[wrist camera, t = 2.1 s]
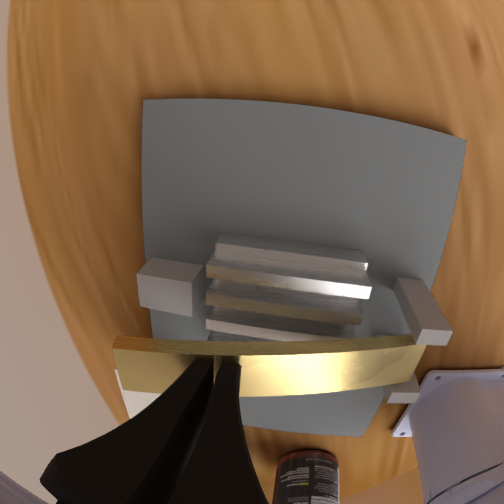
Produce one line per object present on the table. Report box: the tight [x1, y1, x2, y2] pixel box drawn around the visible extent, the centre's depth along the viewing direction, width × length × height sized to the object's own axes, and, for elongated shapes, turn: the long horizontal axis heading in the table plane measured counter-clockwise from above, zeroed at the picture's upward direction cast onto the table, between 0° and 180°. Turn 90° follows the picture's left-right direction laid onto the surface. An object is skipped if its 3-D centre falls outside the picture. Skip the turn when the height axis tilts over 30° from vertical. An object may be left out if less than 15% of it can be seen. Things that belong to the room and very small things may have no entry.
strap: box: [112, 334, 427, 397], centre depth 12 cm, size 13×2×1 cm, turn 86°
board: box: [136, 99, 467, 437], centre depth 16 cm, size 16×22×6 cm
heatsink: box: [206, 232, 372, 342], centre depth 16 cm, size 7×7×3 cm
